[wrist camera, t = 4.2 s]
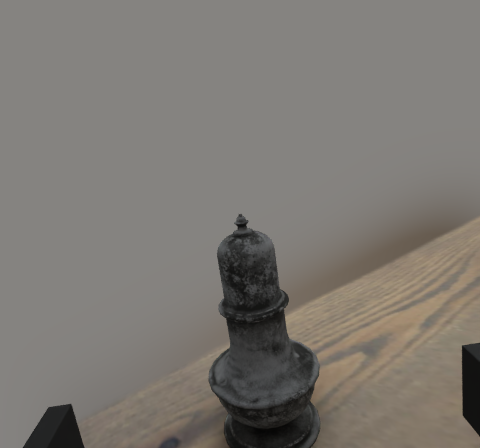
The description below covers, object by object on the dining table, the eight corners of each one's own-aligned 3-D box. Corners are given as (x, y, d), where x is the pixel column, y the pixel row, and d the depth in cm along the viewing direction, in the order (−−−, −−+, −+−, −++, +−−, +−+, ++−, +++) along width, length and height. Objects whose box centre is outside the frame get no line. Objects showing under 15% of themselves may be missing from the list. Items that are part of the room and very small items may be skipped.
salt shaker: (197, 440, 21) (152, 229, 18) (257, 377, 26) (229, 199, 23) (291, 489, 18) (256, 236, 15) (343, 406, 22) (323, 199, 19)
